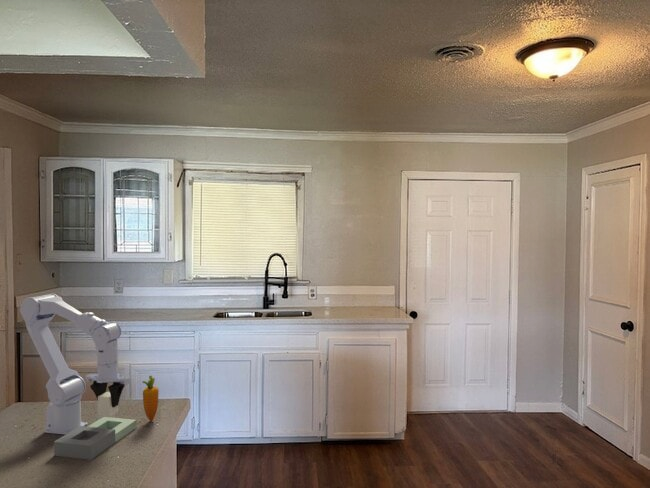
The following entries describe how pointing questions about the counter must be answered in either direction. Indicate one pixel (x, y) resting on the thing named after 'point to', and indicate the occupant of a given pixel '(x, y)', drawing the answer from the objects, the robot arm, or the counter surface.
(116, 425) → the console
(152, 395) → the carrot
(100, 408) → the peg
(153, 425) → the counter surface
